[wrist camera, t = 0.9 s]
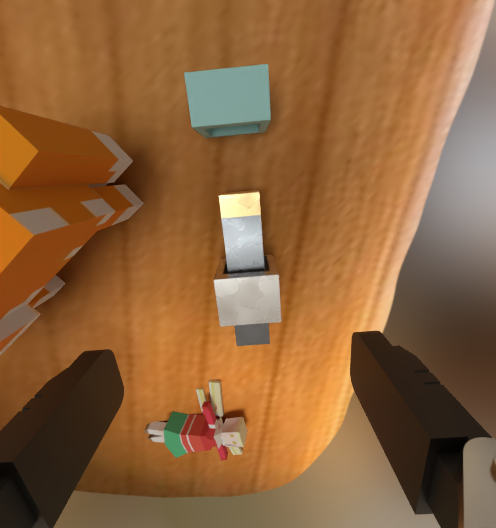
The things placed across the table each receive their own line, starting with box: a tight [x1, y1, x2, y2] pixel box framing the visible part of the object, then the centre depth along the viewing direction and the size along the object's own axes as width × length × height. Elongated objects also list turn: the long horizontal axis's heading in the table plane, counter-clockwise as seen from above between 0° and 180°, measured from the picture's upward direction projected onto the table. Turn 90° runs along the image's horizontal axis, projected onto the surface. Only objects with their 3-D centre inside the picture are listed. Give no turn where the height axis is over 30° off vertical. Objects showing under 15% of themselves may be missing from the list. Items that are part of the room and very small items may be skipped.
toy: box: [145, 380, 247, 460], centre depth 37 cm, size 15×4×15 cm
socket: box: [184, 64, 271, 138], centre depth 22 cm, size 4×6×6 cm, turn 95°
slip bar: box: [219, 190, 270, 346], centre depth 27 cm, size 16×4×4 cm, turn 5°
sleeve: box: [214, 254, 281, 326], centre depth 27 cm, size 5×6×6 cm
